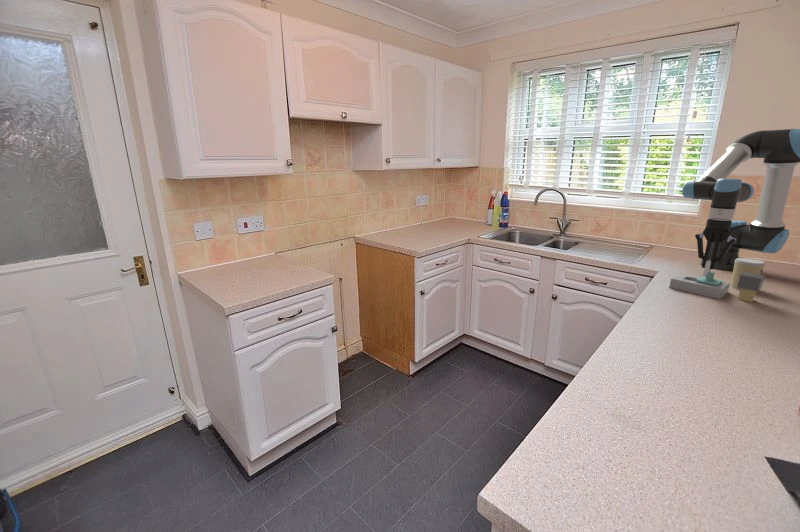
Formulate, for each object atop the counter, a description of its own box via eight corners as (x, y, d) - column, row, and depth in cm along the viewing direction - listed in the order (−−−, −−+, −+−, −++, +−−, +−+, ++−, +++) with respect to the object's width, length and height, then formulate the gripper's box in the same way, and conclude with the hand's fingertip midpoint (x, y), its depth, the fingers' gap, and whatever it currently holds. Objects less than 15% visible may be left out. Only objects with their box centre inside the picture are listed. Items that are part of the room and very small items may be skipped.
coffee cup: (763, 292, 153) (771, 264, 149) (737, 290, 154) (744, 262, 151) (747, 284, 161) (755, 258, 158) (723, 283, 163) (730, 257, 160)
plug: (737, 295, 149) (744, 271, 146) (757, 300, 144) (764, 275, 142) (733, 299, 145) (740, 274, 142) (754, 303, 141) (761, 278, 138)
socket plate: (678, 281, 165) (680, 273, 164) (727, 292, 153) (730, 283, 152) (669, 287, 158) (671, 278, 157) (719, 298, 146) (722, 289, 144)
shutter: (700, 278, 157) (702, 269, 156) (721, 282, 152) (724, 273, 151) (695, 281, 153) (697, 272, 152) (717, 285, 147) (719, 276, 146)
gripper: (696, 217, 149) (683, 274, 155) (739, 222, 139) (723, 282, 145) (702, 216, 153) (689, 270, 160) (744, 220, 143) (728, 278, 150)
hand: (705, 276), depth 153 cm, fingers closed
